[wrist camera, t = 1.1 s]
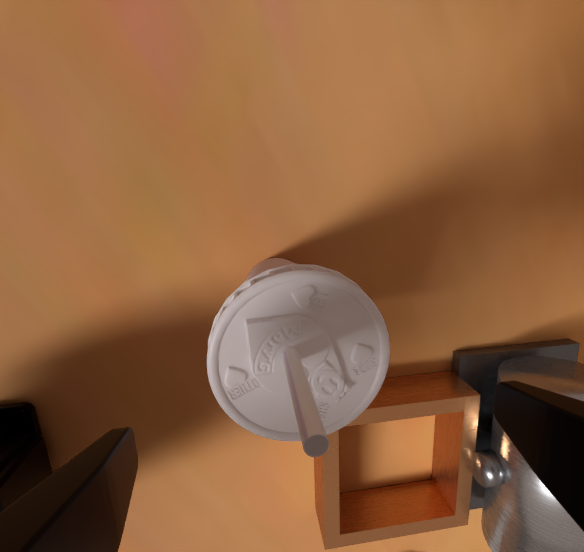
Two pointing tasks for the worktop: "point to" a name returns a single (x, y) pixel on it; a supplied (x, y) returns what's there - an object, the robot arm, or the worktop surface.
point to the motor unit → (460, 457)
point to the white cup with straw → (297, 353)
